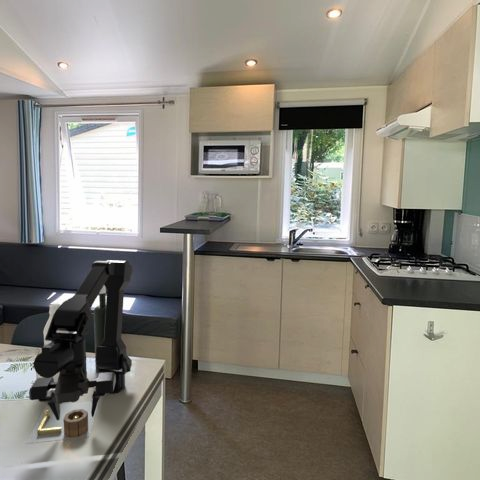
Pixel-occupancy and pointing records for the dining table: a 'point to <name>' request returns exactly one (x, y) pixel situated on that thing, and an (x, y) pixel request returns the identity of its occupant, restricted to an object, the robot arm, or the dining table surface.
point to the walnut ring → (75, 423)
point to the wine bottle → (100, 320)
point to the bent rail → (47, 430)
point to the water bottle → (52, 310)
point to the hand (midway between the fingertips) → (75, 417)
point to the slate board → (61, 422)
